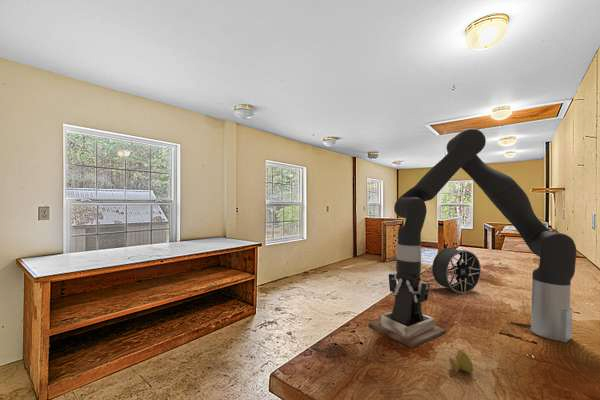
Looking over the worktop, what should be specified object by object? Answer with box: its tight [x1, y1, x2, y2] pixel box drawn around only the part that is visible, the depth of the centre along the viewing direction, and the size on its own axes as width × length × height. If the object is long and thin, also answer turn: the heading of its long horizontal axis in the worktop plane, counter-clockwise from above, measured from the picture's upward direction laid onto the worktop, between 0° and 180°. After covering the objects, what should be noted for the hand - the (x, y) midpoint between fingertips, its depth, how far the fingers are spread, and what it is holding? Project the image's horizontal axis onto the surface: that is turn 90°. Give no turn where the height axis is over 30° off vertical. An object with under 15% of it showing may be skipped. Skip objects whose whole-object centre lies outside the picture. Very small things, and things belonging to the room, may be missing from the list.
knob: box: [448, 349, 474, 374], centre depth 68 cm, size 5×5×5 cm
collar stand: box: [368, 311, 447, 349], centre depth 90 cm, size 16×18×4 cm
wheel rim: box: [431, 247, 482, 294], centre depth 134 cm, size 20×9×20 cm, turn 105°
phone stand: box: [391, 286, 424, 327], centre depth 90 cm, size 9×6×12 cm, turn 118°
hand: (407, 309), depth 90 cm, fingers closed on phone stand, 6 cm apart
